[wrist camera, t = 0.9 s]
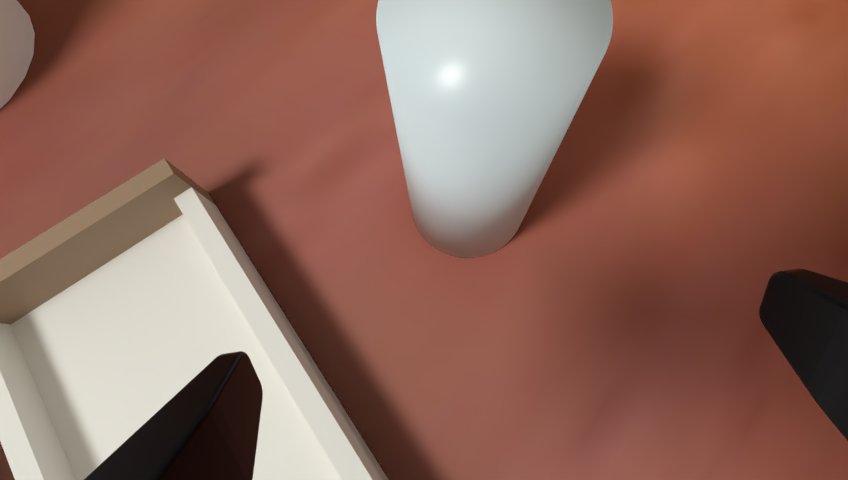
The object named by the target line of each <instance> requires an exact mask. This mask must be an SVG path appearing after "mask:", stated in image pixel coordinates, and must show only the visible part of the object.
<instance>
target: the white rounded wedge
mask: <svg viewBox="0 0 848 480" xmlns="http://www.w3.org/2000/svg"><path fill="white" fill-rule="evenodd" d="M376 25H377V31H378V38H379V43H380V48H381V53H382V58H383V64H384V69H385V74H386V79H387V85H388V90H389V95H390V100H391V105H392V111H393V116H394V121H395V126H396V131H397V137H398V142H399V147H400V152H401V157H402V163H403V168H404V173H405V178H406V183H407V189H408V194H409V199H410V204H411V209H412V215H413V218H414V222H415V224H416V226H417V229H418V230H419V232H420V233H421V235H422V236H423V237H424V238H425V240H426V241H427V242H429V243H430V244H431V245H432V246H433V247H435V248H436V249H438V250H440V251H442V252H444V253H446V254H449V255H451V256H456V257H462V258H475V257H482V256H485V255H488V254H491V253H493V252H495V251H497V250H499V249H500V248H502V247H503V246H505V245H506V244H507V243H508V242H509V241H510V240H511V239H512V238H513V237H514V235H515V234H516V232H517V231H518V229H519V227H520V225H521V223H522V221H523V219H524V217H525V215H526V213H527V211H528V209H529V207H530V205H531V203H532V200H533V198H534V196H535V194H536V192H537V190H538V188H539V186H540V184H541V182H542V180H543V178H544V176H545V174H546V172H547V170H548V168H549V166H550V164H551V162H552V160H553V158H554V156H555V154H556V152H557V150H558V148H559V146H560V144H561V142H562V140H563V138H564V136H565V134H566V132H567V130H568V128H569V126H570V124H571V122H572V120H573V118H574V115H575V113H576V111H577V109H578V107H579V105H580V103H581V101H582V99H583V97H584V95H585V93H586V91H587V89H588V87H589V85H590V83H591V81H592V79H593V77H594V75H595V73H596V71H597V69H598V67H599V65H600V63H601V61H602V59H603V57H604V55H605V53H606V51H607V48H608V45H609V42H610V39H611V34H612V28H613V11H612V5H611V0H379V1H378V6H377V16H376Z"/></svg>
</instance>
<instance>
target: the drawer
mask: <svg viewBox="0 0 848 480" xmlns="http://www.w3.org/2000/svg"><path fill="white" fill-rule="evenodd" d="M238 351H242V352H245V353H246V354H247V355H248V356H249V358H250V360H251V362H252V365H253V367H254V369H255V371H256V373H257V376H258V378H259V380H260V382H261V385H262V391H263V398H262V407H261V415H260V423H259V432H258V440H257V448H256V456H255V464H254V472H253V479H252V480H388V478H387V477H386V475H385V473H384V472H383V470H382V469H381V467H380V465H379V464H378V462H377V461H376V459H375V457H374V456H373V454H372V453H371V451H370V450H369V448H368V446H367V445H366V443H365V442H364V440H363V438H362V437H361V435H360V434H359V432H358V430H357V429H356V427H355V426H354V424H353V423H352V421H351V419H350V418H349V416H348V415H347V413H346V411H345V410H344V408H343V407H342V405H341V403H340V402H339V400H338V399H337V397H336V395H335V394H334V392H333V391H332V389H331V388H330V386H329V384H328V383H327V381H326V380H325V378H324V376H323V375H322V373H321V372H320V370H319V368H318V367H317V365H316V364H315V362H314V361H313V359H312V357H311V356H310V354H309V353H308V351H307V349H306V348H305V346H304V345H303V343H302V341H301V340H300V338H299V337H298V335H297V334H296V332H295V330H294V329H293V327H292V326H291V324H290V322H289V321H288V319H287V318H286V316H285V314H284V313H283V311H282V310H281V308H280V306H279V305H278V303H277V302H276V300H275V299H274V297H273V295H272V294H271V292H270V291H269V289H268V287H267V286H266V284H265V283H264V281H263V279H262V278H261V276H260V275H259V273H258V272H257V270H256V268H255V267H254V265H253V264H252V262H251V260H250V259H249V257H248V256H247V254H246V252H245V251H244V249H243V248H242V246H241V245H240V243H239V241H238V240H237V238H236V237H235V235H234V233H233V232H232V230H231V229H230V227H229V225H228V224H227V222H226V221H225V219H224V217H223V216H222V214H221V213H220V211H219V210H218V208H217V206H216V205H215V203H214V202H213V200H212V198H211V197H210V195H209V194H208V192H206V191H205V190H204V189H203V188H201V187H200V186H199V185H198V184H196V183H195V182H194V181H193V180H191V179H190V178H189V177H188V176H186V175H185V174H184V173H182V172H181V171H180V170H179V169H177V168H176V167H175V166H174V165H172V164H171V163H170V162H169V161H167V160H166V159H165V158H164V159H162V160H161V161H159V162H157V163H156V164H154V165H153V166H151V167H149V168H148V169H146V170H144V171H143V172H141V173H140V174H138V175H136V176H135V177H133V178H131V179H130V180H128V181H127V182H125V183H123V184H122V185H120V186H118V187H117V188H115V189H114V190H112V191H110V192H109V193H107V194H105V195H104V196H102V197H101V198H99V199H97V200H96V201H94V202H92V203H91V204H89V205H88V206H86V207H84V208H83V209H81V210H79V211H78V212H76V213H75V214H73V215H71V216H70V217H68V218H66V219H65V220H63V221H62V222H60V223H58V224H57V225H55V226H53V227H52V228H50V229H49V230H47V231H45V232H44V233H42V234H40V235H39V236H37V237H36V238H34V239H32V240H31V241H29V242H28V243H26V244H24V245H23V246H21V247H19V248H18V249H16V250H15V251H13V252H11V253H10V254H8V255H6V256H5V257H3V258H2V259H0V442H1V444H2V447H3V450H4V452H5V455H6V458H7V460H8V463H9V465H10V468H11V471H12V473H13V476H14V479H15V480H84V479H85V478H86V477H87V476H88V475H89V474H90V473H92V472H93V471H94V470H95V469H96V468H97V467H98V466H99V465H100V464H101V463H102V462H103V461H104V460H106V459H107V458H108V457H109V456H110V455H111V454H112V453H113V452H114V451H115V450H116V449H117V448H119V447H120V446H121V445H122V444H123V443H124V442H125V441H126V440H127V439H128V438H129V437H130V436H132V435H133V434H134V433H135V432H136V431H137V430H138V429H139V428H140V427H141V426H142V425H143V424H145V423H146V422H147V421H148V420H149V419H150V418H151V417H152V416H153V415H154V414H155V413H156V412H158V411H159V410H160V409H161V408H162V407H163V406H164V405H165V404H166V403H167V402H168V401H169V400H171V399H172V398H173V397H174V396H175V395H176V394H177V393H178V392H179V391H180V390H181V389H182V388H184V387H185V386H186V385H187V384H188V383H189V382H190V381H191V380H192V379H193V378H194V377H195V376H197V375H198V374H199V373H200V372H201V371H202V370H203V369H204V368H205V367H206V366H207V365H208V364H210V363H211V362H212V361H213V360H214V359H215V358H216V357H217V356H219V355H221V354H225V353H232V352H238Z"/></svg>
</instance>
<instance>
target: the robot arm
mask: <svg viewBox="0 0 848 480" xmlns="http://www.w3.org/2000/svg"><path fill="white" fill-rule="evenodd" d="M759 315H760V319H761V321H762V324H763V325H764V327H765V328H766V330H767V331H768V333H769V334H770V336H771V337H772V338H773V340H774V341H775V343H776V344H777V346H778V347H779V349H780V350H781V352H782V353H783V355H784V356H785V358H786V359H787V360H788V362H789V363H790V365H791V366H792V368H793V369H794V371H795V372H796V374H797V375H798V377H799V378H800V379H801V381H802V382H803V384H804V385H805V387H806V388H807V390H808V391H809V392H810V394H811V395H812V397H813V398H814V399H815V401H816V402H817V404H818V405H819V406H820V407H821V409H822V410H823V411H824V412H825V414H826V415H827V416H828V417H829V419H830V420H831V421H832V422H833V424H834V425H835V426H836V427H837V428H838V430H839V431H840V432H841V433H842V434H843V436H844V437H845V438H846V439H847V440H848V283H847V282H844V281H841V280H838V279H834V278H831V277H828V276H825V275H822V274H818V273H815V272H812V271H809V270H805V269H792V270H786V271H779V272H776V273H774V274H773V275H772V276H771V277H770V279H769V282H768V285H767V288H766V291H765V294H764V297H763V300H762V303H761V306H760V309H759ZM262 398H263V391H262V385H261V382H260V380H259V378H258V376H257V373H256V371H255V369H254V367H253V365H252V362H251V360H250V358H249V356H248V355H247V354H246V353H245V352H242V351H238V352H232V353H225V354H221V355H219V356H217V357H216V358H215V359H214V360H213V361H212V362H211V363H210V364H208V365H207V366H206V367H205V368H204V369H203V370H202V371H201V372H200V373H199V374H198V375H197V376H195V377H194V378H193V379H192V380H191V381H190V382H189V383H188V384H187V385H186V386H185V387H184V388H182V389H181V390H180V391H179V392H178V393H177V394H176V395H175V396H174V397H173V398H172V399H171V400H169V401H168V402H167V403H166V404H165V405H164V406H163V407H162V408H161V409H160V410H159V411H158V412H156V413H155V414H154V415H153V416H152V417H151V418H150V419H149V420H148V421H147V422H146V423H145V424H143V425H142V426H141V427H140V428H139V429H138V430H137V431H136V432H135V433H134V434H133V435H132V436H130V437H129V438H128V439H127V440H126V441H125V442H124V443H123V444H122V445H121V446H120V447H119V448H117V449H116V450H115V451H114V452H113V453H112V454H111V455H110V456H109V457H108V458H107V459H106V460H104V461H103V462H102V463H101V464H100V465H99V466H98V467H97V468H96V469H95V470H94V471H93V472H92V473H90V474H89V475H88V476H87V477H86V478H85V479H84V480H252V479H253V472H254V464H255V456H256V448H257V440H258V432H259V423H260V415H261V407H262Z"/></svg>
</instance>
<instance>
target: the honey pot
mask: <svg viewBox="0 0 848 480" xmlns="http://www.w3.org/2000/svg"><path fill="white" fill-rule="evenodd" d="M34 38H35V33H34V30H33V26H32V23H31V20H30V16H29V15H28V13H27V12H26V11H25V10H24V8H23V7H22V6H21V5H20V3H19V2H18V1H17V0H0V109H1V108H2V107H3V106H4V105H5V104H6V103H7V102H8V101H9V100H10V99H11V97H12V96H13V94H14V93H15V91H16V90H17V88H18V87H19V86H20V84H21V83H22V81H23V80H24V78H25V76H26V74H27V71H28V68H29V65H30V63H31V60H32V57H33V54H34Z"/></svg>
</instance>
